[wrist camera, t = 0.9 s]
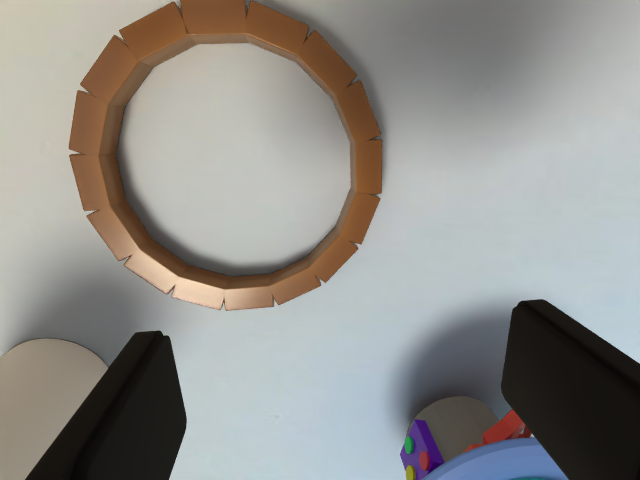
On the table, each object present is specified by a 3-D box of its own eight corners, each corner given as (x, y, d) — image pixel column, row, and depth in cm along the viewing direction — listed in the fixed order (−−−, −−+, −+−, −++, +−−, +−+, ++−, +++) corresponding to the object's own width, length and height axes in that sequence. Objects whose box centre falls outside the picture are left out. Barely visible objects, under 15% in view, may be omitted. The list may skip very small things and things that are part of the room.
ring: (54, 14, 19) (27, 1, 17) (375, 7, 20) (384, -5, 18) (125, 305, 24) (111, 320, 22) (373, 286, 25) (380, 298, 23)
